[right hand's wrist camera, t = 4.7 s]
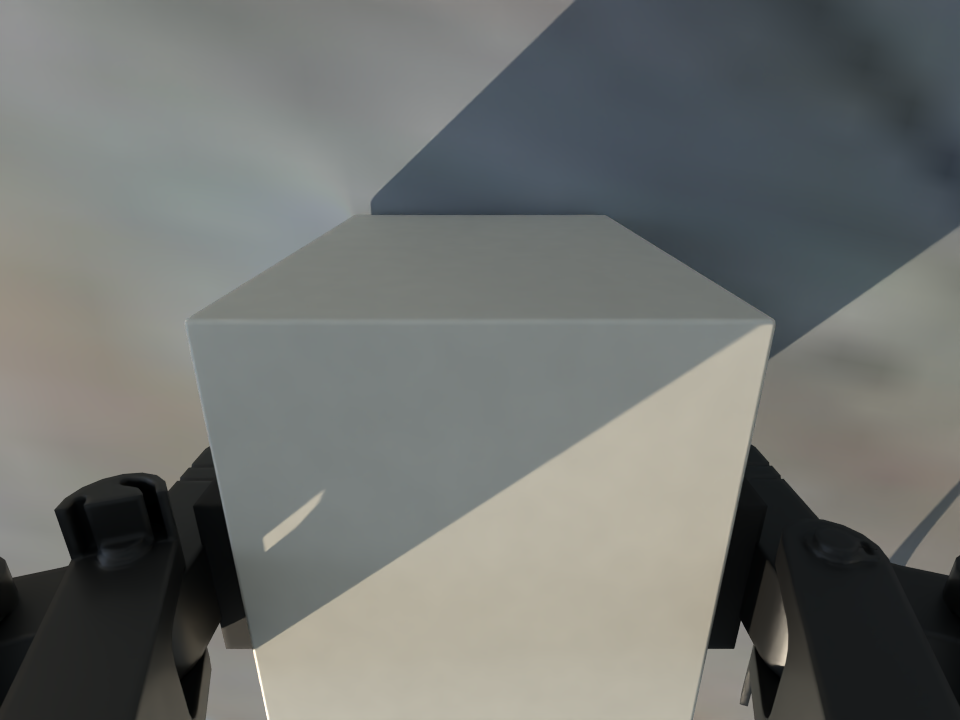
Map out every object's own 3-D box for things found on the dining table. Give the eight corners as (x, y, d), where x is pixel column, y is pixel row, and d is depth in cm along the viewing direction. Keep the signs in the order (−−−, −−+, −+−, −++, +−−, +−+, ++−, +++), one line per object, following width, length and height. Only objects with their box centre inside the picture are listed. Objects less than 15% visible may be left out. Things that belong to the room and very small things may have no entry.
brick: (353, 214, 14) (180, 319, 6) (607, 214, 14) (779, 319, 6) (376, 493, 17) (284, 809, 9) (583, 493, 17) (675, 809, 9)
